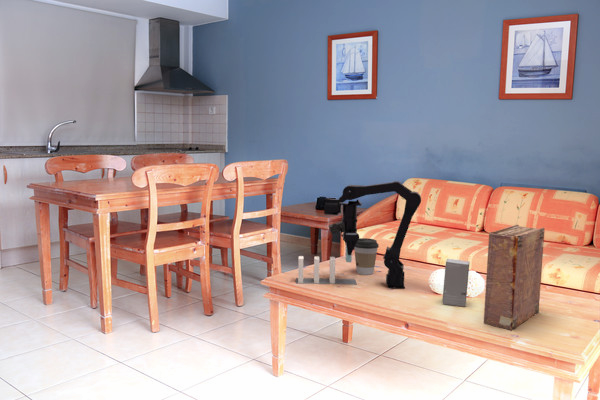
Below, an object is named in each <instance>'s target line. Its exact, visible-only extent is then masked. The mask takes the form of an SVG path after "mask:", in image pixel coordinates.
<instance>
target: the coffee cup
mask: <svg viewBox="0 0 600 400" xmlns="http://www.w3.org/2000/svg"><path fill="white" fill-rule="evenodd" d="M378 248H379V243H378V241H377V239H374V238H364V237H363V238H360V237H359V240H358V241H357V243H356V245H355V247H354V249H353V251H354V259H355V269H356V273H357V274H359V275H362V276H368V275H373V274H374V272H375V266H376V260H377V255H378V254H377V253H378Z"/></svg>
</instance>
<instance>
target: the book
mask: <svg viewBox="0 0 600 400" xmlns="http://www.w3.org/2000/svg"><path fill="white" fill-rule="evenodd" d="M544 241H545V227H542V228H541V227H540V228H534V227H526V226H519V224H514V225H511V226H508V227H504V228H502V229H499V230H495V231H491V232H489V233H488V245H487V246H488V247H487V261H486V276H485V277H486V280H485V295H484V296H485V297H484V309H483V310H484V312H483V324H484V325H490V326H493V327H496V328H501V329H504V330H510V331H513V330H515V329H516V328H518V327H519V326H521V325H522V324H524V323H526V321H528V320H530V319H531V318H533V317H534V316H536V315H537V314H539V312H540V311H539V310H540V298H541V297H540V296H541V283H542V282H541V281H542V272H543V270H542V269H543V254H544ZM535 314H536V315H535ZM532 316H533V317H532ZM529 318H530V319H529Z"/></svg>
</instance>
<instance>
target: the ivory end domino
mask: <svg viewBox="0 0 600 400" xmlns="http://www.w3.org/2000/svg"><path fill="white" fill-rule="evenodd" d="M304 260H305V259H304V256H303V255H299V256H298V265H297V266H298V267H297V268H298V274H297V275H298V276H297V278H298V283H303V278H304Z"/></svg>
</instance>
